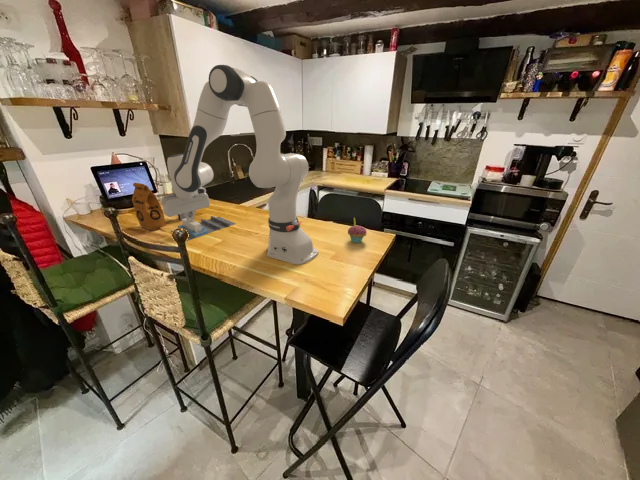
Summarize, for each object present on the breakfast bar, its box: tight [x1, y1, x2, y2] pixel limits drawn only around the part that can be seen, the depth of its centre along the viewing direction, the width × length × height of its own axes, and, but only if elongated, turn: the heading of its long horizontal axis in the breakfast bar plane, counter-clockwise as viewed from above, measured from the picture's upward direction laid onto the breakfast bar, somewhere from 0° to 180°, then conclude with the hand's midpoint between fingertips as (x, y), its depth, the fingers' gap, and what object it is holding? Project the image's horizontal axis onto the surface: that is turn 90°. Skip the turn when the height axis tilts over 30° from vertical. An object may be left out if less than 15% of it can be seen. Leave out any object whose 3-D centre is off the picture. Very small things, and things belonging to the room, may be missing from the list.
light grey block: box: [181, 218, 202, 234], centre depth 124 cm, size 12×3×5 cm, turn 52°
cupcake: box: [347, 217, 367, 244], centre depth 118 cm, size 9×8×12 cm
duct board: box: [170, 215, 237, 242], centre depth 129 cm, size 16×26×3 cm, turn 142°
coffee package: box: [131, 182, 167, 232], centre depth 127 cm, size 10×12×22 cm
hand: (190, 220), depth 123 cm, fingers closed
